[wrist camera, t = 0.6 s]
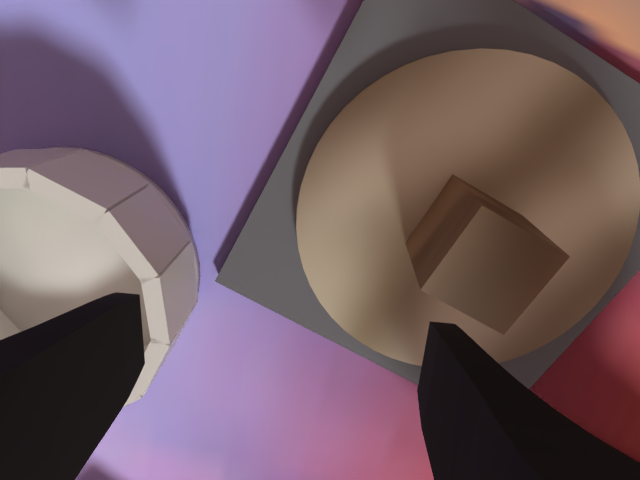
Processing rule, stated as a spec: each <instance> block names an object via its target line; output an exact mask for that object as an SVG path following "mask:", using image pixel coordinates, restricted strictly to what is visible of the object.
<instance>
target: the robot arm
mask: <svg viewBox="0 0 640 480" xmlns="http://www.w3.org/2000/svg"><path fill="white" fill-rule="evenodd" d="M144 365H145V357H144V344H143V331H142V318H141V305H140V294H129V293H118V292H115V293H112V294H109V295H106V296H103V297H101V298H98V299H96V300H93V301H91V302H89V303H86V304H84V305H82V306H79V307H77V308H75V309H73V310H70V311H68V312H66V313H64V314H61V315H59V316H57V317H55V318H52V319H50V320H48V321H46V322H43V323H41V324H39V325H36V326H34V327H31V328H29V329H26V330H24V331H22V332H19V333H17V334H14V335H12V336H9V337H7V338H4V339H2V340H0V480H75V478H76V477H77V475H78V474H79V472H80V471H81V469H82V468H83V466H84V465H85V463H86V462H87V460H88V459H89V457H90V456H91V454H92V453H93V451H94V450H95V448H96V447H97V445H98V444H99V442H100V441H101V440H102V438H103V437H104V435H105V434H106V432H107V431H108V429H109V428H110V426H111V424H112V423H113V421H114V420H115V418H116V417H117V415H118V414H119V412H120V411H121V409H122V408H123V406H124V405H125V403H126V401H127V400H128V398H129V396H130V394H131V392H132V390H133V388H134V386H135V384H136V382H137V380H138V378H139V376H140V373H141V371H142V369H143V367H144ZM417 391H418V401H419V410H420V418H421V427H422V431H423V436H424V440H425V444H426V448H427V452H428V456H429V460H430V464H431V468H432V472H433V476H434V480H640V463H639V462H637V461H635V460H633V459H632V458H630V457H628V456H627V455H625V454H623V453H622V452H620V451H618V450H616V449H615V448H613V447H611V446H610V445H608V444H606V443H605V442H603V441H601V440H600V439H598V438H597V437H595V436H593V435H592V434H590V433H589V432H587V431H586V430H584V429H583V428H581V427H580V426H578V425H577V424H575V423H574V422H572V421H571V420H569V419H568V418H567V417H565V416H564V415H562V414H561V413H559V412H558V411H556V410H555V409H554V408H552V407H551V406H550V405H548V404H547V403H546V402H544V401H543V400H542V399H540V398H539V397H538V396H537V395H535V394H534V393H533V392H532V391H530V390H529V389H528V388H527V387H525V386H524V385H523V384H522V383H520V382H519V381H518V380H517V379H516V378H515V377H513V376H512V375H511V374H510V373H509V372H508V371H506V370H505V369H504V368H503V367H502V366H501V365H500V364H499V363H497V362H496V361H495V360H494V359H493V358H492V357H491V356H490V355H489V354H488V353H487V352H486V351H484V350H483V349H482V348H481V347H480V346H479V345H478V344H477V343H476V342H475V341H474V340H473V339H472V338H471V337H470V336H468V335H467V334H466V333H465V332H464V331H463V330H462V329H461V328H460V327H458V326H457V325H456V324H453V323H442V322H431V321H430V323H429V329H428V334H427V340H426V345H425V351H424V356H423V362H422V367H421V373H420V378H419V384H418V389H417Z"/></svg>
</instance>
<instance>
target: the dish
mask: <svg viewBox="0 0 640 480" xmlns="http://www.w3.org/2000/svg"><path fill="white" fill-rule="evenodd" d="M199 285H200V262H199V257H198V251H197V247H196V244H195V241H194V238H193V235H192V233H191V231H190V229H189V226H188V224H187V222H186V220H185V219H184V217H183V216H182V214H181V212H180V211H179V209H178V208H177V206H176V205H175V204H174V203H173V201H172V200H171V199H170V198H169V196H168V195H167V194H166V193H165V192H164V191H163V190H162V189H161V188H160V187H159V186H158V185H157V184H156V183H155V182H153V181H152V180H151V179H150V178H148V177H147V176H146V175H144V174H143V173H142V172H140V171H139V170H137V169H135V168H134V167H132V166H131V165H129V164H127V163H125V162H123V161H121V160H119V159H117V158H115V157H112V156H110V155H107V154H104V153H101V152H98V151H94V150H89V149H84V148H79V147H64V146H61V147H48V148H43V149H15V150H11V151H7V152H4V153H0V340H2V339H4V338H7V337H9V336H12V335H14V334H17V333H19V332H22V331H24V330H26V329H29V328H31V327H34V326H36V325H39V324H41V323H43V322H46V321H48V320H50V319H52V318H55V317H57V316H59V315H61V314H64V313H66V312H68V311H70V310H73V309H75V308H77V307H79V306H82V305H84V304H86V303H89V302H91V301H93V300H96V299H98V298H101V297H103V296H106V295H109V294H112V293H115V292H118V293H129V294H140V305H141V318H142V331H143V344H144V357H145V365H144V367H143V369H142V371H141V373H140V376H139V378H138V380H137V382H136V384H135V386H134V388H133V390H132V392H131V394H130V396H129V398H128V400H127V401H126V403H125V405H124V406H123V407H125V406H127V405H129V404H131V403H133V402H135V401H137V400H139V399H141V398H142V397H143V396H144V395H145V393H146V391H147V390H148V388H149V387H150V385H151V383H152V382H153V380H154V378H155V377H156V375H157V373H158V372H159V370H160V368H161V367H162V365H163V364H164V362H165V360H166V359H167V357H168V355H169V354H170V352H171V350H172V349H173V347H174V345H175V344H176V342H177V340H178V338H179V336H180V334H181V332H182V330H183V328H184V326H185V325H186V323H187V321H188V319H189V317H190V315H191V313H192V311H193V309H194V307H195V305H196V304H197V302H198V292H199Z"/></svg>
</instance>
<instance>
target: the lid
mask: <svg viewBox="0 0 640 480" xmlns="http://www.w3.org/2000/svg"><path fill="white" fill-rule="evenodd" d="M639 211H640V178H639V170H638V164H637V160H636V157H635V153H634V149H633V146H632V143H631V141H630V139H629V137H628V134H627V132H626V130H625V128H624V126H623V124H622V122H621V121H620V119H619V118H618V116H617V115H616V113H615V112H614V110H613V109H612V107H611V106H610V105H609V104H608V103H607V102H606V101H605V99H604V98H603V97H602V96H601V95H600V94H599V93H598V92H597V91H596V90H595V89H594V88H593V87H591V86H590V85H589V84H588V83H586V82H585V81H584V80H582V79H581V78H580V77H578V76H577V75H576V74H574V73H572V72H570V71H569V70H567V69H565V68H563V67H561V66H559V65H558V64H556V63H553V62H551V61H548V60H545V59H542V58H540V57H537V56H534V55H531V54H526V53H521V52H516V51H511V50H503V49H484V48H480V49H468V50H457V51H449V52H445V53H440V54H436V55H431V56H427V57H424V58H421V59H419V60H416V61H413V62H411V63H408V64H405V65H403V66H401V67H399V68H397V69H395V70H393V71H391V72H390V73H388V74H386V75H384V76H382V77H381V78H379V79H378V80H376V81H375V82H373V83H372V84H371V85H369V86H368V87H366V88H365V89H363V90H362V91H361V92H360V93H359V94H358V95H357V96H356V97H354V98H353V99H352V100H351V101H350V102H349V103H348V104H347V105H346V106H345V107H344V108H343V109H342V110H341V111H340V113H339V114H338V115H337V116H336V117H335V119H334V120H333V121H332V122H331V123H330V125H329V126H328V128H327V129H326V131H325V132H324V134H323V136H322V137H321V139H320V140H319V142H318V144H317V146H316V148H315V150H314V152H313V154H312V156H311V158H310V161H309V163H308V166H307V168H306V172H305V175H304V178H303V181H302V184H301V187H300V193H299V199H298V205H297V219H296V232H297V242H298V250H299V254H300V258H301V262H302V266H303V269H304V272H305V274H306V277H307V279H308V282H309V284H310V286H311V288H312V290H313V292H314V293H315V295H316V297H317V299H318V300H319V302H320V303H321V305H322V306H323V307H324V309H325V310H326V311H327V312H328V314H329V315H330V316H331V317H332V318H333V319H334V320H335V321H336V322H337V323H338V324H339V325H340V327H341V328H342V329H343V330H345V331H346V332H347V333H349V334H350V335H351V336H352V337H354V338H355V339H356V340H358V341H359V342H361V343H362V344H364V345H366V346H367V347H369V348H371V349H372V350H374V351H376V352H379V353H381V354H383V355H385V356H388V357H390V358H392V359H396V360H399V361H402V362H405V363H409V364H413V365H418V366H422V362H423V356H424V351H425V345H426V340H427V334H428V329H429V323H430V321H431V322H442V323H453V324H456V325H457V326H458V327H460V328H461V329H462V330H463V331H464V332H465V333H466V334H467V335H468V336H470V337H471V338H472V339H473V340H474V341H475V342H476V343H477V344H478V345H479V346H480V347H481V348H482V349H483V350H484V351H486V352H487V353H488V354H489V355H490V356H491V357H492V358H493V359H494V360H495V361H496V362H497V363H500V362H504V361H508V360H511V359H514V358H516V357H519V356H522V355H525V354H527V353H529V352H531V351H533V350H535V349H538V348H540V347H542V346H544V345H546V344H547V343H549V342H551V341H552V340H554V339H555V338H557V337H559V336H560V335H562V334H563V333H565V332H566V331H567V330H569V329H570V328H571V327H572V326H574V325H575V324H576V323H577V322H579V321H580V320H581V319H582V318H583V317H584V316H585V315H586V314H587V313H588V312H589V311H590V310H591V309H592V308H593V307H594V306H595V305H596V304H597V303H598V302H599V300H600V299H601V298H602V297H603V295H604V294H605V293H606V292H607V290H608V289H609V288H610V286H611V285H612V283H613V281H614V280H615V278H616V277H617V275H618V274H619V272H620V270H621V268H622V266H623V264H624V262H625V260H626V258H627V255H628V253H629V251H630V248H631V245H632V242H633V239H634V236H635V233H636V229H637V223H638V217H639Z"/></svg>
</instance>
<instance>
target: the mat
mask: <svg viewBox="0 0 640 480" xmlns="http://www.w3.org/2000/svg"><path fill="white" fill-rule="evenodd" d="M480 48H484V49H503V50H511V51H516V52H521V53H526V54H531V55H534V56H537V57H540V58H542V59H545V60H548V61H551V62H553V63H556V64H558V65H559V66H561V67H563V68H565V69H567V70H569V71H570V72H572V73H574V74H576V75H577V76H578V77H580V78H581V79H582V80H584V81H585V82H586V83H588V84H589V85H590V86H591V87H593V88H594V89H595V90H596V91H597V92H598V93H599V94H600V95H601V96H602V97H603V98H604V99H605V101H606V102H607V103H608V104H609V105H610V106H611V107H612V109H613V110H614V112H615V113H616V115H617V116H618V118H619V119H620V121H621V122H622V124H623V126H624V128H625V130H626V132H627V134H628V137H629V139H630V141H631V143H632V146H633V149H634V153H635V157H636V160H637V164H638V170H639V178H640V84H639V83H638V82H636V81H635V80H633V79H632V78H630V77H629V76H627V75H626V74H624V73H623V72H621V71H620V70H618V69H617V68H615V67H614V66H612V65H611V64H609V63H608V62H606V61H605V60H603V59H602V58H600V57H599V56H597V55H596V54H594V53H593V52H591V51H590V50H588V49H587V48H585V47H584V46H582V45H581V44H579V43H578V42H576V41H575V40H573V39H572V38H570V37H569V36H567V35H566V34H564V33H562V32H561V31H559V30H558V29H556V28H555V27H553V26H552V25H550V24H549V23H547V22H546V21H544V20H543V19H541V18H540V17H538V16H537V15H535V14H534V13H532V12H531V11H529V10H528V9H526V8H525V7H523V6H522V5H520V4H519V3H517V2H516V1H514V0H364V1H363V2H362V4H361V6H360V8H359V10H358V12H357V14H356V16H355V18H354V19H353V21H352V23H351V25H350V27H349V29H348V31H347V33H346V35H345V36H344V38H343V40H342V42H341V44H340V46H339V48H338V50H337V52H336V53H335V55H334V57H333V59H332V61H331V63H330V65H329V67H328V69H327V70H326V72H325V74H324V76H323V78H322V80H321V82H320V84H319V86H318V87H317V89H316V91H315V93H314V95H313V97H312V99H311V101H310V103H309V104H308V106H307V108H306V110H305V112H304V114H303V116H302V118H301V120H300V121H299V123H298V125H297V127H296V129H295V131H294V133H293V135H292V137H291V138H290V140H289V142H288V144H287V146H286V148H285V150H284V152H283V154H282V155H281V157H280V159H279V161H278V163H277V165H276V167H275V169H274V171H273V172H272V174H271V176H270V178H269V180H268V182H267V184H266V186H265V188H264V189H263V191H262V193H261V195H260V197H259V199H258V201H257V203H256V205H255V206H254V208H253V210H252V212H251V214H250V216H249V218H248V220H247V222H246V223H245V225H244V227H243V229H242V231H241V233H240V235H239V237H238V239H237V240H236V242H235V244H234V246H233V248H232V250H231V252H230V254H229V256H228V257H227V259H226V261H225V263H224V265H223V267H222V269H221V271H220V273H219V274H218V276H217V278H216V280H215V281H216V282H218V283H219V284H221V285H223V286H225V287H227V288H229V289H231V290H233V291H235V292H237V293H239V294H241V295H243V296H245V297H247V298H249V299H251V300H253V301H255V302H257V303H259V304H261V305H263V306H264V307H266V308H268V309H270V310H272V311H274V312H276V313H278V314H280V315H282V316H284V317H286V318H288V319H290V320H292V321H294V322H296V323H298V324H300V325H302V326H304V327H306V328H308V329H309V330H311V331H313V332H315V333H317V334H319V335H321V336H323V337H325V338H327V339H329V340H331V341H333V342H335V343H337V344H339V345H341V346H343V347H345V348H347V349H349V350H351V351H353V352H354V353H356V354H358V355H360V356H362V357H364V358H366V359H368V360H370V361H372V362H374V363H376V364H378V365H380V366H382V367H384V368H386V369H388V370H390V371H392V372H394V373H396V374H398V375H399V376H401V377H403V378H405V379H407V380H409V381H411V382H413V383H415V384H417V385H418V384H419V378H420V373H421V367H422V366H418V365H413V364H409V363H405V362H402V361H399V360H396V359H392V358H390V357H388V356H385V355H383V354H381V353H379V352H376V351H374V350H372V349H371V348H369V347H367V346H366V345H364V344H362V343H361V342H359V341H358V340H356V339H355V338H354V337H352V336H351V335H350V334H349V333H347V332H346V331H345V330H343V329H342V328H341V327H340V325H339V324H338V323H337V322H336V321H335V320H334V319H333V318H332V317H331V316H330V315H329V314H328V312H327V311H326V310H325V309H324V307H323V306H322V305H321V303H320V302H319V300H318V299H317V297H316V295H315V293H314V292H313V290H312V288H311V286H310V284H309V282H308V279H307V277H306V274H305V272H304V269H303V266H302V262H301V258H300V254H299V250H298V242H297V232H296V219H297V205H298V199H299V193H300V187H301V184H302V181H303V178H304V175H305V172H306V168H307V166H308V163H309V161H310V158H311V156H312V154H313V152H314V150H315V148H316V146H317V144H318V142H319V140H320V139H321V137H322V136H323V134H324V132H325V131H326V129H327V128H328V126H329V125H330V123H331V122H332V121H333V120H334V119H335V117H336V116H337V115H338V114H339V113H340V111H341V110H342V109H343V108H344V107H345V106H346V105H347V104H348V103H349V102H350V101H351V100H352V99H353V98H354V97H356V96H357V95H358V94H359V93H360V92H361V91H362V90H363V89H365V88H366V87H368V86H369V85H371V84H372V83H373V82H375V81H376V80H378V79H379V78H381V77H382V76H384V75H386V74H388V73H390V72H391V71H393V70H395V69H397V68H399V67H401V66H403V65H405V64H408V63H411V62H413V61H416V60H419V59H421V58H424V57H427V56H431V55H436V54H440V53H445V52H449V51H457V50H468V49H480ZM639 270H640V211H639V217H638V223H637V229H636V233H635V236H634V239H633V242H632V245H631V248H630V251H629V253H628V255H627V258H626V260H625V262H624V264H623V266H622V268H621V270H620V272H619V274H618V275H617V277H616V278H615V280H614V281H613V283H612V285H611V286H610V288H609V289H608V290H607V292H606V293H605V294H604V295H603V297H602V298H601V299H600V300H599V302H598V303H597V304H596V305H595V306H594V307H593V308H592V309H591V310H590V311H589V312H588V313H587V314H586V315H585V316H584V317H583V318H582V319H581V320H580V321H579V322H577V323H576V324H575V325H574V326H572V327H571V328H570V329H569V330H567V331H566V332H565V333H563V334H562V335H560V336H559V337H557V338H555V339H554V340H552V341H551V342H549V343H547V344H546V345H544V346H542V347H540V348H538V349H535V350H533V351H531V352H529V353H527V354H525V355H522V356H519V357H516V358H514V359H511V360H508V361H504V362H500V363H499V364H500V365H501V366H502V367H503V368H504V369H505V370H506V371H508V372H509V373H510V374H511V375H512V376H513V377H515V378H516V379H517V380H518V381H519V382H520V383H522V384H523V385H524V386H525V387H527V388H528V389H530V388H531V387H532V386H533V384H534V383H535V382H536V381H537V380H538V379H539V378H540V377H541V376H542V375H543V374H544V373H545V371H546V370H547V369H548V368H549V367H550V366H551V365H552V364H553V363H554V362H555V361H556V360H557V359H558V357H559V356H560V355H561V354H562V353H563V352H564V351H565V350H566V349H567V348H568V347H569V346H570V344H571V343H572V342H573V341H574V340H575V339H576V338H577V337H578V336H579V335H580V334H581V333H582V331H583V330H584V329H585V328H586V327H587V326H588V325H589V324H590V323H591V322H592V321H593V320H594V318H595V317H596V316H597V315H598V314H599V313H600V312H601V311H602V310H603V309H604V308H605V307H606V305H607V304H608V303H609V302H610V301H611V300H612V299H613V298H614V297H615V296H616V295H617V294H618V292H619V291H620V290H621V289H622V288H623V287H624V286H625V285H626V284H627V283H628V282H629V281H630V279H631V278H632V277H633V276H634V275H635V274H636V273H637V272H638V271H639Z"/></svg>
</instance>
